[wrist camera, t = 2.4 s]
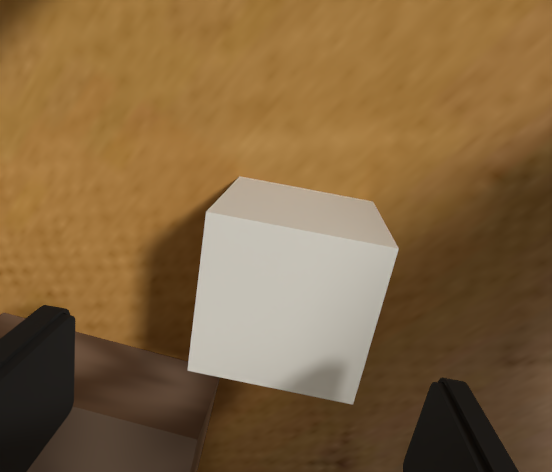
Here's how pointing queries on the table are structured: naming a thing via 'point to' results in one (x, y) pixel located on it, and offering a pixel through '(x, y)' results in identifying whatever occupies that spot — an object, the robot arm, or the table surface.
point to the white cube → (290, 288)
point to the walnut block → (128, 411)
